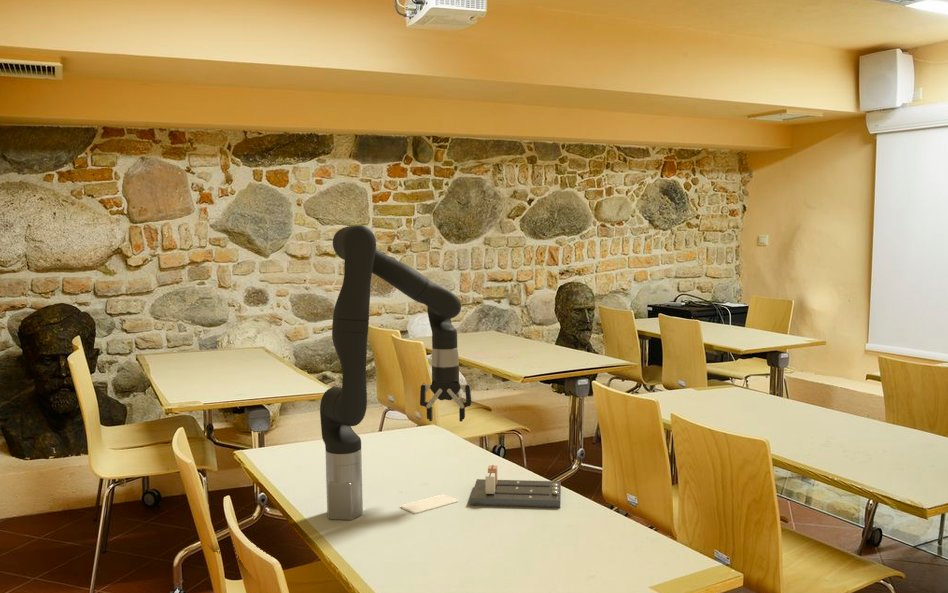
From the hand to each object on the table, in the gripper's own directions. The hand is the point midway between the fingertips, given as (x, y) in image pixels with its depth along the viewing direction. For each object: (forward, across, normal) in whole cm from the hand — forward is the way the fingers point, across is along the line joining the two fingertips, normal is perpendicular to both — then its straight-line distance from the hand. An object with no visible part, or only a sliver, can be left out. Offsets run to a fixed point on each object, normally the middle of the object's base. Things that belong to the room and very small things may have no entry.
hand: (446, 420), depth 226 cm
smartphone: (+21, -3, -11) cm, 24 cm away
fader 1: (+18, +13, 0) cm, 22 cm away
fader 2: (+18, +13, -7) cm, 23 cm away
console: (+20, +20, -4) cm, 29 cm away
